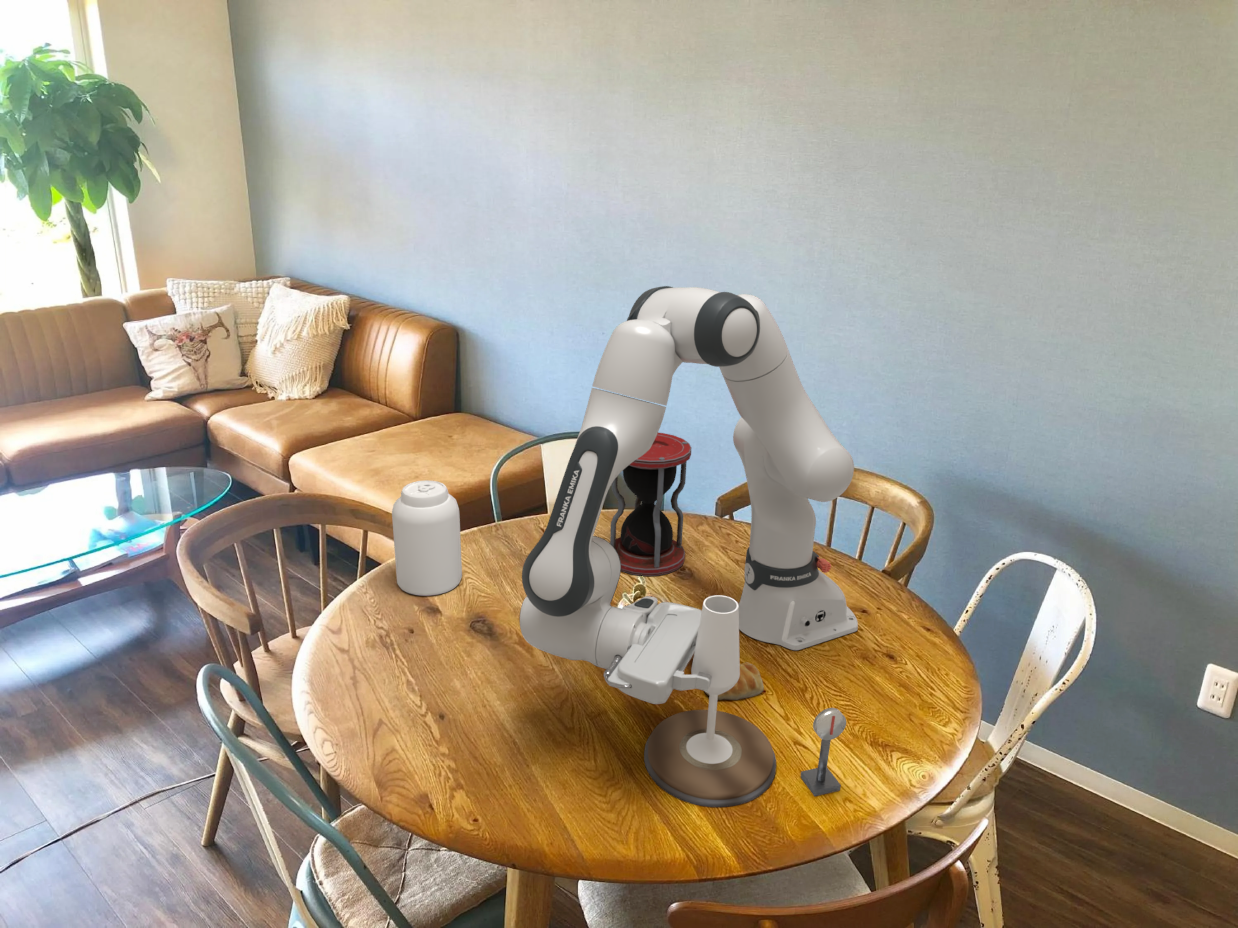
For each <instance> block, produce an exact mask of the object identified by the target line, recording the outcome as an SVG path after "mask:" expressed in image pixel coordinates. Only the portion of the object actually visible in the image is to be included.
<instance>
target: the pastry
mask: <svg viewBox="0 0 1238 928" xmlns="http://www.w3.org/2000/svg"><path fill="white" fill-rule="evenodd" d="M764 689H765V687H764V681H763V679H762V677H761V672H760V671H759V669H758V668H757V667H756V665H754V664H753V663H750V662H747V661H745V662H743V663H740V676H739V679H738V682H737V683H736V684H735V685H734V686H733V687H732V688H731V689H730V690H728V691H727V692H724V693H722V694H720V695H718V699H717V701H718V700H719V701H720V700H721V701H722V700H732V701H739V700H742V699H743V700H744V699H747V698H751V697H756V696H758V695H760V694H761V693H762V692H764ZM704 693H705V694H706V695H707V696H709V694H708V693H707V692H705V691H704Z"/></svg>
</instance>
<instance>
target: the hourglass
mask: <svg viewBox="0 0 1238 928" xmlns="http://www.w3.org/2000/svg"><path fill="white" fill-rule="evenodd" d="M691 456H692V445H691V444H690V443H689V442H688V441H687V440H685V439H684V438H682V437H679V436H677V435H674V434H671V433H664V432H658V434H657V436H656V438H655V440H654V442H653V444H652V446H651V448H650V449H649V450H648V451H647V452H646V453H645V454H644V455H642V456H641V457H639V458H638V459H636V460H635V461H634V462H632V463H631V464H630V465H628V466H627V467H626V468H625V469H624V470H623V471H622V474H623V476H622V477H623V480H624V482H625V485H626V486H627V488H628V489H629V490H630V491H631V493H632V494H634V496H636V499H635V501H634V510H632V511H631V512H630V513H629V514H628V515H627V516H626V517H625V519H624V521H623V523H622V525H621V530H620V537H617V523H618V520H619V518H620V517H621V516H623V514H624V511H625V509H626V501H625V498H624V496H622V494H620V491H619V489H618V479H619V478H618V477H619V475H618V476H617V477H616V478H615V480H614V481H613V483H612V484H611V491H612V494H613V496H614V497H615V498H616V500H617V504H618V507H617V510H616V513H615V514H614V515H613V516H612V519H611V521H610V535H609V537H610V538H609V539H610V540H609V541H610V542H609V543H610V544H611V545H612V546H613V547H614V548H615V549H616V551H617V553H618V555H619V558H620V561H621V572H624V573H627V574H630V575H635V576H641V575H642V576H641V577H655V576H663V575H666V574H671V573H673V572H675V571H677V570H679V569H680V567H682V566H683V565H684V563H685V559H686V551H685V549H684V546H683V529H684V527H683V525H684V514H683V511H682V509H680V507H679V504H678V498H679V495H680V493H681V492H682V491H683V490H684V487H685V484H686V477H687V476H686V475H687V461H690V460H691V459H690V458H691ZM678 466H680V474H679V475H680V476H679V483H678V485H677V488H675V490H674V491H672V495H671V497H670V504H671V508H672V509H673V511H674V512H675V513H676V516H677V530H676V540H675V539H673V538H674V532H673V530H674V529H673V526H672V524H671V522H670V519H669V518H668V517H667V516H666V514H665V513H664V512H663V511H662V510H661V508H662V506H663V502H664V501H663V500H664V499H663V498H664V495H665V494H666V493H668V491H669V490H670V489H671V488H672V486H674V485H673V484H674V483H675V480H676V478H677V477H676V475H677V469H678V468H677V467H678Z"/></svg>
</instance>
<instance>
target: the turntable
mask: <svg viewBox="0 0 1238 928" xmlns="http://www.w3.org/2000/svg"><path fill="white" fill-rule="evenodd" d="M707 720H708V709H693V710H687V711H681V712H678V713H675V714H673V715H671V716H668V717H666V718H665V719H663V720H662V721H660V722H659V724H657V725H656V727H655V728H654V729H653V730H652V732H651V733H650V735H649V736H648V739H646V743H645V746H644V752H643V753H644V757H643V759H644V764H645V768H646V771H647V774H648V775H649V777H650V778H651V779H652V781H653V782H654V783H655V784H656V785H657V786H658V787H659V788H660V789H662V791H664V792H665V793H667V794H669V795H671V796H672V797H674V798H676V799H678V800H680V801H682V802H685V803H689V804H691V805H692V804H693V805H696V806H699V807H700V806H701V807H708V808H727V807H728V808H729V807H734V806H739V805H742V804H746V803H748V802H750V801H751V802H752V801H753V800H755V799H757V798H758V797H761V795H762V794H763V793H765V792H766V791H767V790H768V789H769V788H770V787H771V785H772V783H773V781H774V779H775V776H776V770H777V759H776V754H775V752H774V749H773V746H772V744H771V742H770V740H769V739H768V736H766V734H764V732H763V731H762V730H761V729H760V728H759V727H758V726H757V725H754V724H753V723H752V722H750V721H749V720H747V719H745V718H743V717H741V716H738V715H735V714H733V713H729V712H727V711H726V712H725V711H720V710H717V711H716V723H715V734H717V735H720V736H722V737H724V738H725V739H726V740H728V741H729V743H730V744H731V746H732V754H731V756H730V757H729V759H727V760H726V761H724V762H721V763H716V764H708V763H703V762H700V761H698V760H696V759H694V758H693V757H691V756H690V754H689V753H688V751H687V748H686V745H687V742H688V740H689V739H690V738H691V737H693V736H694V735H697V734H700V733H706V732H707Z"/></svg>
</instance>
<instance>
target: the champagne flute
mask: <svg viewBox="0 0 1238 928" xmlns="http://www.w3.org/2000/svg"><path fill="white" fill-rule="evenodd" d="M701 611H702V613H701V619H700V624H699V630H698V636H697V641H696V647H695V652H694V654H693V657H692V659H693V660H692V664H691V670H690V671H691V675H698V673H699V672H703V673H705V674H710V675H711V677H712V679H711V685H710V687H709V689H708V690H707V691H704V693H705V692H707V693H708V694H709V695H708V696H709V697H708V707H707V710H708V720H707V732H706V733H700V734H697V735H694V736H693V737H691V738H690V739H689V740H688V742H687V745H686V748H687V751H688V753H689V754H690V756H691V757H693V758H694V759H696V760H698V761H700V762H703V763H708V764H716V763H721V762H724V761H726V760H727V759H729V757H730V756H731V754H732V746H731V744H730V743H729V741H728V740H726V739H725V738H724V737H722V736H720V735H717V734H715V723H716V711H718V695H720V694H722V693H724V692H727V691H728V690H730V689H731V688H732V687H733V686H734V685H735V684H736V683H737V682H738V679H739V676H740V664H741V663H740V629H739V602H738V601H736V600H735V599H734V598H732V597H730V596H728V595H727V596H726V595H721V594H720V595H719V594H718V595H717V594H716V595H715V594H714V595H709V596H708V597H706V598H705V599H704V600H703V603H702V609H701Z"/></svg>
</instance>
